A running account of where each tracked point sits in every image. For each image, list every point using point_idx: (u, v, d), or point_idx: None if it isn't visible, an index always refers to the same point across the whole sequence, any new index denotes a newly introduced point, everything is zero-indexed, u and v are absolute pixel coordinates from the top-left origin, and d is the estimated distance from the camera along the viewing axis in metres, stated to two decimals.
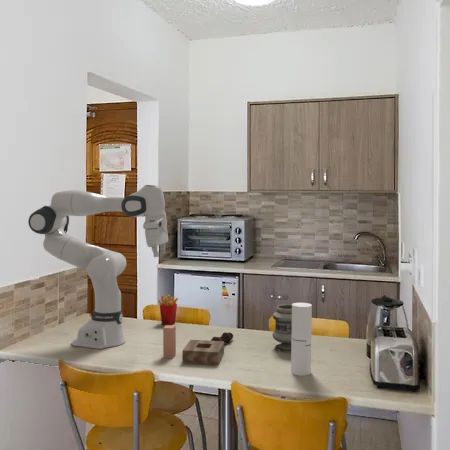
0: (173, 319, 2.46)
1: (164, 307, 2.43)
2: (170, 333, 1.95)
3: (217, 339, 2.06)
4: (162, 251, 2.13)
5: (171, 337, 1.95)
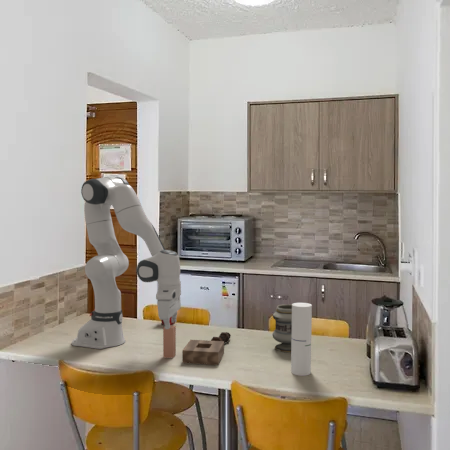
0: None
1: None
2: (170, 333, 1.95)
3: (217, 339, 2.06)
4: (173, 320, 2.00)
5: (171, 337, 1.95)
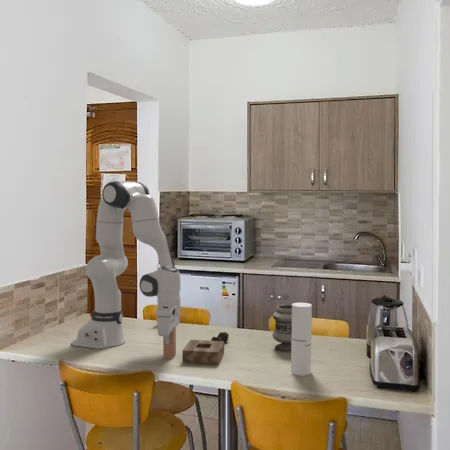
0: None
1: None
2: (170, 333, 1.95)
3: (217, 339, 2.06)
4: None
5: (171, 337, 1.95)
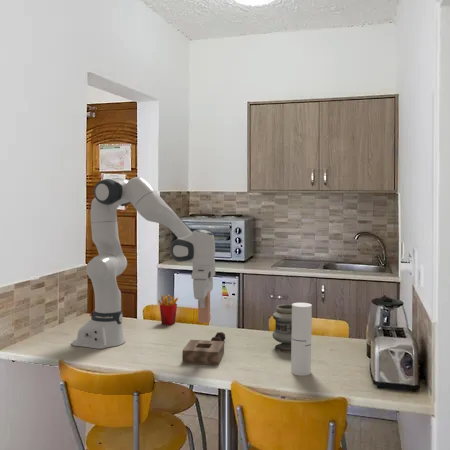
0: (173, 319, 2.46)
1: (164, 307, 2.43)
2: (205, 297, 1.92)
3: (217, 339, 2.06)
4: None
5: (206, 301, 1.92)
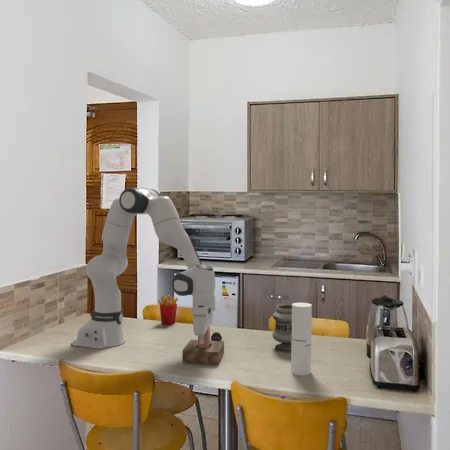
0: (173, 319, 2.46)
1: (164, 307, 2.43)
2: (205, 335, 1.93)
3: (217, 339, 2.06)
4: None
5: (206, 339, 1.93)
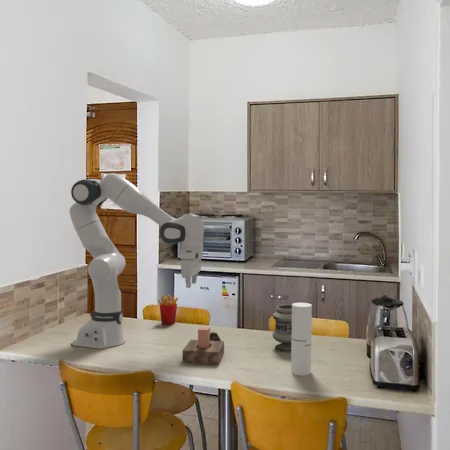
0: (173, 319, 2.46)
1: (164, 307, 2.43)
2: (205, 335, 1.93)
3: (218, 339, 2.06)
4: (194, 280, 2.10)
5: (206, 339, 1.93)
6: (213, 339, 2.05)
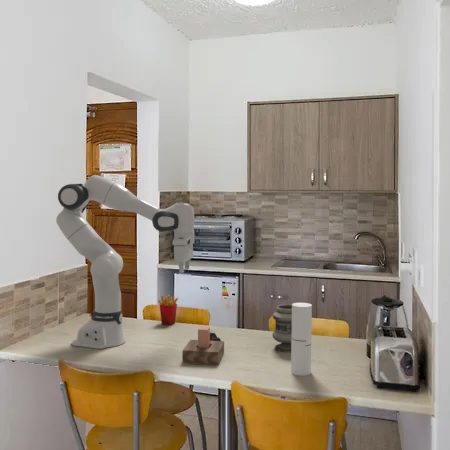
0: (173, 319, 2.46)
1: (164, 307, 2.43)
2: (205, 335, 1.93)
3: (218, 339, 2.05)
4: (186, 266, 2.20)
5: (206, 339, 1.93)
6: (213, 339, 2.05)
